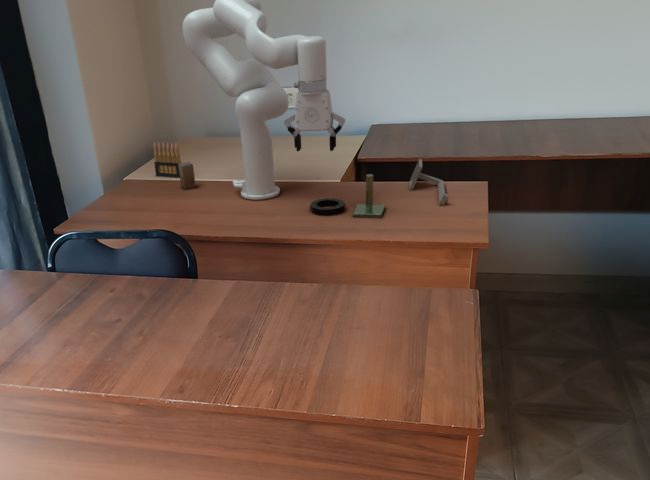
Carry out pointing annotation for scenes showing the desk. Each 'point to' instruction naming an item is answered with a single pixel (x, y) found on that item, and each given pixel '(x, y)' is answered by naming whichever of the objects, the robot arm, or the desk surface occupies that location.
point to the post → (369, 203)
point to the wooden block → (186, 175)
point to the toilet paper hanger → (422, 176)
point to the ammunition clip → (167, 160)
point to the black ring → (319, 210)
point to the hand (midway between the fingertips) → (315, 149)
